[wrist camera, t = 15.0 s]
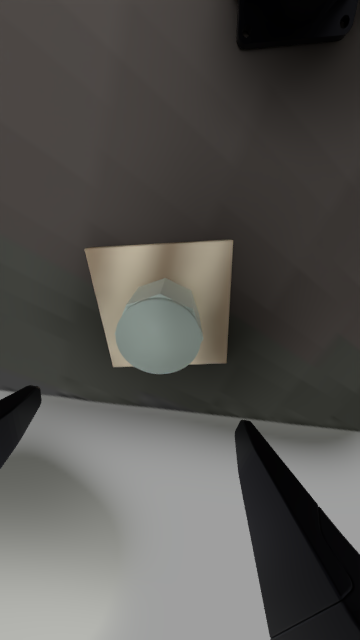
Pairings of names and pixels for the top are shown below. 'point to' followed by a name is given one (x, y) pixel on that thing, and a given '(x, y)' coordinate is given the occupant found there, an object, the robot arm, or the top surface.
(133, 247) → the holder
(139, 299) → the cap
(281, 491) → the robot arm
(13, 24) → the top surface
